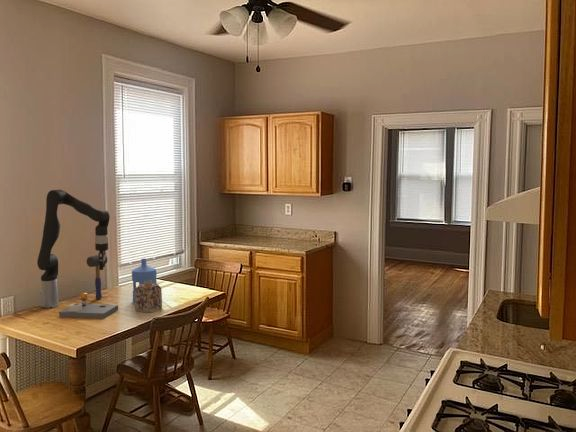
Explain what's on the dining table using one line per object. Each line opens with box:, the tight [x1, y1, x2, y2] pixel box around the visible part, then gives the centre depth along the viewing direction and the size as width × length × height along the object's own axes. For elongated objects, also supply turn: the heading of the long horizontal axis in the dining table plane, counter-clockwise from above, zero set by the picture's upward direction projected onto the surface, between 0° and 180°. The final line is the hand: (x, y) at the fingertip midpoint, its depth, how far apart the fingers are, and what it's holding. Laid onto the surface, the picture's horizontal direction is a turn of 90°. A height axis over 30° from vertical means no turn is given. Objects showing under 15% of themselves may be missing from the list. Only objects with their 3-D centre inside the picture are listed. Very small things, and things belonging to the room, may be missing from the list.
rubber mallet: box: [86, 254, 108, 300], centre depth 337 cm, size 12×8×30 cm, turn 152°
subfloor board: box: [58, 303, 119, 319], centre depth 305 cm, size 28×18×3 cm, turn 82°
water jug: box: [131, 258, 158, 304], centre depth 331 cm, size 16×16×28 cm
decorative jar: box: [134, 281, 163, 314], centre depth 311 cm, size 12×12×18 cm
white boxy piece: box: [67, 302, 82, 312], centre depth 300 cm, size 6×5×4 cm
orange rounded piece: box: [79, 291, 88, 306], centre depth 310 cm, size 4×4×8 cm
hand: (102, 268), depth 310 cm, fingers open, 8 cm apart
